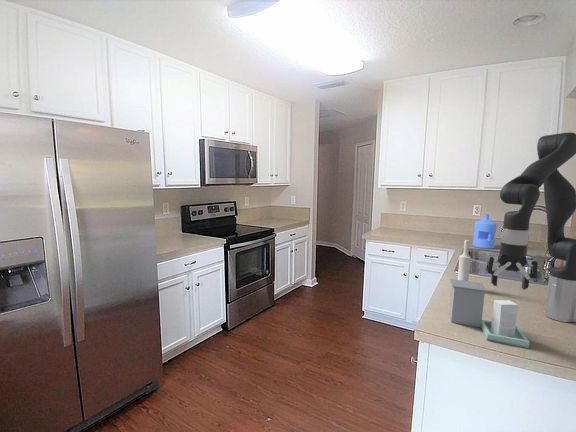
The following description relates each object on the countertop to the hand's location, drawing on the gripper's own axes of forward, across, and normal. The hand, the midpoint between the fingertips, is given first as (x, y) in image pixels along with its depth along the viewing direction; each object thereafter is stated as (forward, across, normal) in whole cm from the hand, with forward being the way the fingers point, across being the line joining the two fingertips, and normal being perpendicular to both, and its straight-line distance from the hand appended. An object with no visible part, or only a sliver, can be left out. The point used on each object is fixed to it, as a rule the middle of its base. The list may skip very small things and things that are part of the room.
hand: (509, 287), depth 107 cm
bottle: (+19, -6, +50) cm, 54 cm away
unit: (+18, -11, +8) cm, 23 cm away
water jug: (+20, +26, +171) cm, 174 cm away
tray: (+18, 0, 0) cm, 18 cm away
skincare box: (+18, 0, 0) cm, 18 cm away
